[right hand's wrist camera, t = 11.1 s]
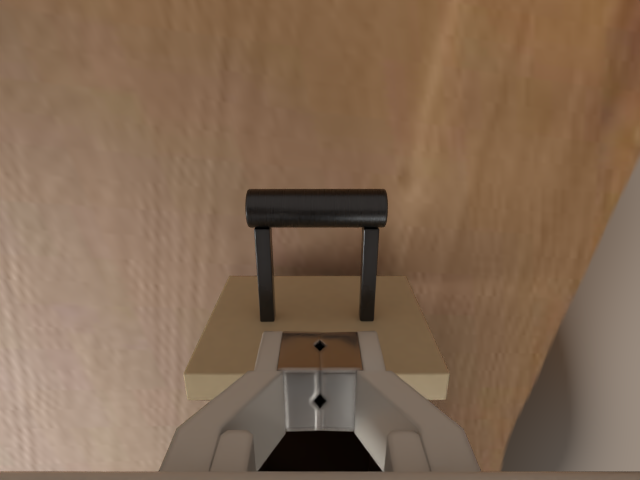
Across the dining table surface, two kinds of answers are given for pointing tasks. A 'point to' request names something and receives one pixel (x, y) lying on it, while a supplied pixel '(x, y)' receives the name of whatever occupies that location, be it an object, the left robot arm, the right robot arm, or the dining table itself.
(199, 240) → the dining table surface
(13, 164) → the dining table surface
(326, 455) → the drawer
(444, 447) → the right robot arm
